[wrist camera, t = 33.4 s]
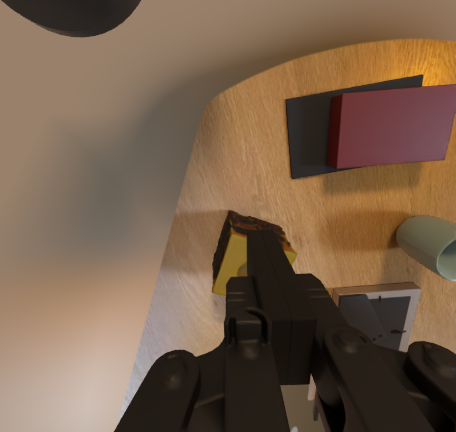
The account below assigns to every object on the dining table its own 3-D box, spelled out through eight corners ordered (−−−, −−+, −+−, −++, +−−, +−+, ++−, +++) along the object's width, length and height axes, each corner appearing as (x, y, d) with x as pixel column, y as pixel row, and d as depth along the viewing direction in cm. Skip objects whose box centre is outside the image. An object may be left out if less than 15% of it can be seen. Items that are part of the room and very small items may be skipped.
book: (326, 165, 37) (425, 157, 37) (336, 168, 34) (445, 159, 34) (331, 97, 34) (439, 88, 34) (342, 93, 31) (462, 83, 30)
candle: (228, 208, 40) (230, 231, 30) (282, 225, 41) (300, 252, 31) (211, 258, 43) (208, 293, 33) (262, 272, 44) (272, 309, 35)
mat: (291, 178, 38) (292, 179, 38) (285, 99, 34) (286, 99, 34) (413, 158, 37) (414, 158, 37) (421, 75, 33) (423, 74, 33)
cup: (379, 231, 42) (425, 258, 32) (417, 201, 40) (477, 221, 30) (402, 257, 43) (452, 290, 34) (439, 229, 42) (502, 257, 32)
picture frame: (333, 288, 45) (326, 364, 52) (340, 297, 43) (332, 376, 50) (412, 282, 45) (395, 358, 52) (424, 291, 43) (404, 370, 49)
